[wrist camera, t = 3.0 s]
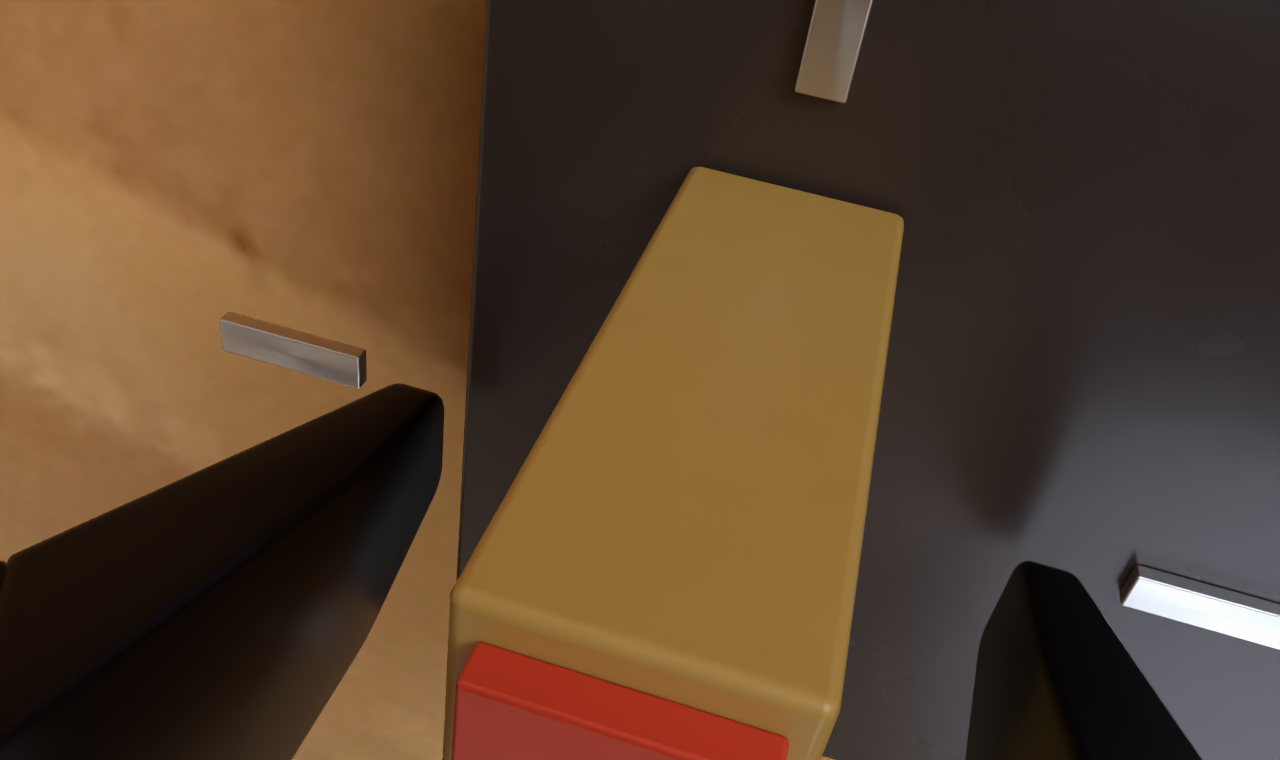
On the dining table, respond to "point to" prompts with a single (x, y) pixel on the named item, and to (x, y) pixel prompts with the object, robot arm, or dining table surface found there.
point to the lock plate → (938, 303)
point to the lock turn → (691, 500)
